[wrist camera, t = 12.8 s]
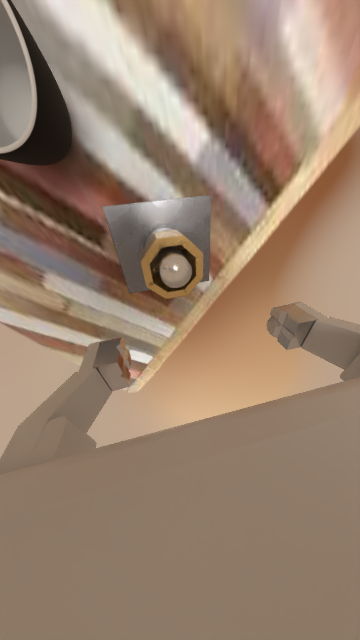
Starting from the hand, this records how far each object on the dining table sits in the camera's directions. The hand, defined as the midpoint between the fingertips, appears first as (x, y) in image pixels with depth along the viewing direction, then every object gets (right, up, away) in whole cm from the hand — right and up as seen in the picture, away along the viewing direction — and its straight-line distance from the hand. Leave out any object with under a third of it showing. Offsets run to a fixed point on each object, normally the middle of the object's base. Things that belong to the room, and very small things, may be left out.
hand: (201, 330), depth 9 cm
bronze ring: (-3, +8, +11) cm, 14 cm away
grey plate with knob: (-4, +13, +18) cm, 22 cm away
